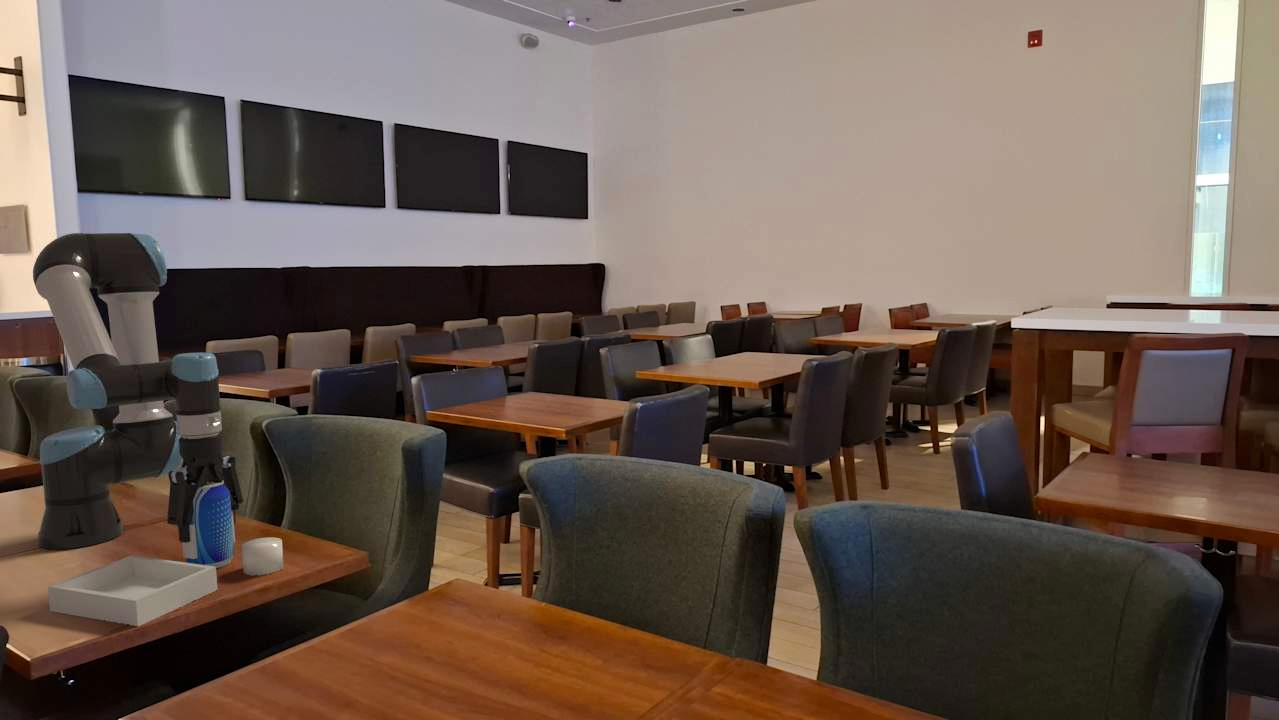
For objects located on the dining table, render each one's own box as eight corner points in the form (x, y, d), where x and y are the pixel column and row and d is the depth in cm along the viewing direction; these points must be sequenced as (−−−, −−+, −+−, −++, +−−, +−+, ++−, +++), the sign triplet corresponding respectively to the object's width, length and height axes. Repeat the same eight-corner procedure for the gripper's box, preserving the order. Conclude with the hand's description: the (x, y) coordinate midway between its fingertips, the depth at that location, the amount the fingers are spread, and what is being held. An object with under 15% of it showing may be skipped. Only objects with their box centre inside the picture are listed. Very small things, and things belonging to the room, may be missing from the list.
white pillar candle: (235, 573, 162) (233, 547, 162) (263, 560, 169) (261, 535, 168) (264, 577, 160) (262, 551, 159) (291, 564, 166) (290, 539, 166)
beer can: (215, 573, 162) (208, 489, 160) (176, 570, 164) (169, 488, 162) (244, 557, 171) (238, 478, 169) (206, 555, 172) (200, 477, 170)
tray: (50, 611, 146) (47, 586, 145) (134, 577, 161) (132, 555, 160) (138, 626, 139) (135, 600, 138) (217, 590, 154) (215, 566, 153)
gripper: (167, 447, 153) (178, 570, 156) (258, 424, 173) (266, 534, 176) (136, 445, 156) (147, 566, 158) (229, 423, 175) (237, 531, 178)
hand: (209, 549), depth 167 cm, fingers closed on beer can, 8 cm apart
